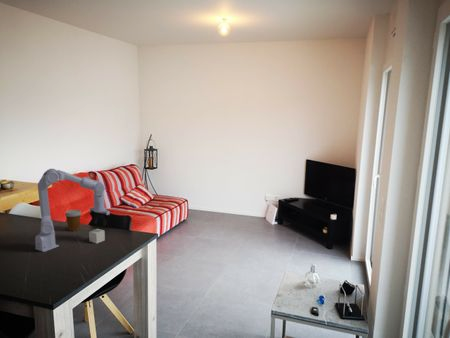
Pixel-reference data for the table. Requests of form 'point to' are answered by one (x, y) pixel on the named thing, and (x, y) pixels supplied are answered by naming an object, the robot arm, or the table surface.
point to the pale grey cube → (96, 236)
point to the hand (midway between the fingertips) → (100, 224)
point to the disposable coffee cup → (73, 219)
